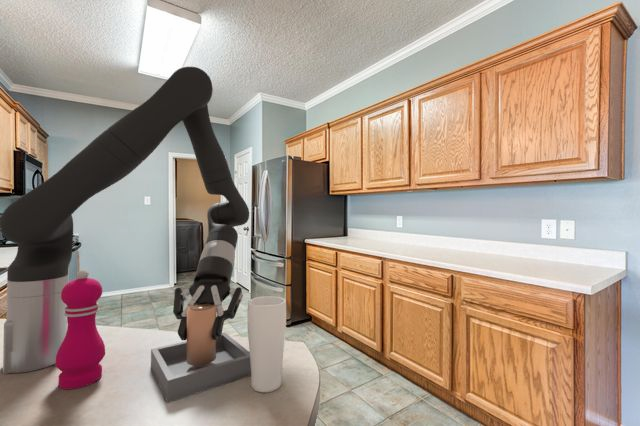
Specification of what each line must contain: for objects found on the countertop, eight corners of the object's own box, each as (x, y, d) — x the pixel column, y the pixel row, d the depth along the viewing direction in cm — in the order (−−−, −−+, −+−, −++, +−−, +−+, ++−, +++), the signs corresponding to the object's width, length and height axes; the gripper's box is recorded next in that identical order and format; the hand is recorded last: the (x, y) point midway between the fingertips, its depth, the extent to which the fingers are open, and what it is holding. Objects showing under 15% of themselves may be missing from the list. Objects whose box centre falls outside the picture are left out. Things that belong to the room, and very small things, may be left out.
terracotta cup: (190, 368, 57) (191, 312, 57) (183, 357, 61) (183, 305, 61) (220, 360, 60) (220, 307, 60) (210, 350, 64) (211, 301, 64)
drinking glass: (278, 399, 51) (279, 307, 51) (240, 394, 52) (240, 304, 53) (290, 378, 58) (291, 296, 58) (256, 374, 59) (256, 294, 59)
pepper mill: (64, 374, 59) (66, 267, 59) (109, 367, 61) (111, 266, 62) (46, 394, 52) (49, 274, 52) (98, 386, 55) (100, 272, 55)
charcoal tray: (167, 402, 50) (167, 380, 50) (150, 366, 62) (151, 349, 62) (253, 374, 59) (254, 355, 59) (224, 347, 71) (225, 332, 71)
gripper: (179, 254, 68) (152, 330, 56) (246, 254, 69) (234, 328, 56) (188, 274, 73) (165, 347, 61) (250, 274, 74) (239, 346, 62)
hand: (198, 338), depth 59 cm, fingers closed on terracotta cup, 5 cm apart
